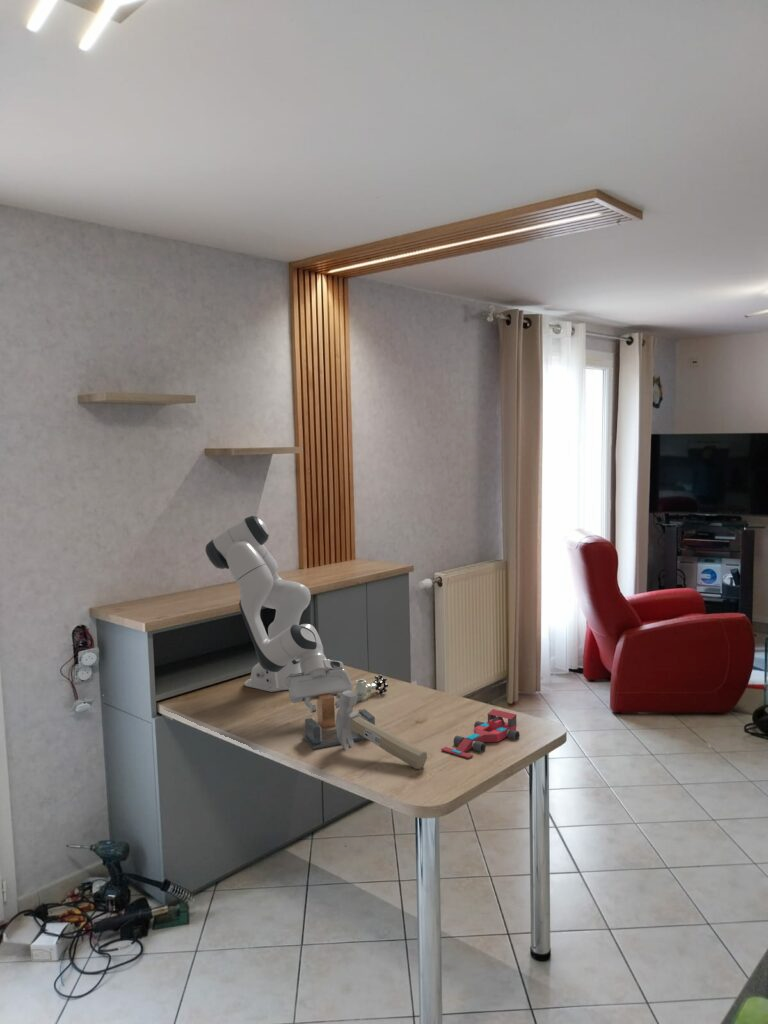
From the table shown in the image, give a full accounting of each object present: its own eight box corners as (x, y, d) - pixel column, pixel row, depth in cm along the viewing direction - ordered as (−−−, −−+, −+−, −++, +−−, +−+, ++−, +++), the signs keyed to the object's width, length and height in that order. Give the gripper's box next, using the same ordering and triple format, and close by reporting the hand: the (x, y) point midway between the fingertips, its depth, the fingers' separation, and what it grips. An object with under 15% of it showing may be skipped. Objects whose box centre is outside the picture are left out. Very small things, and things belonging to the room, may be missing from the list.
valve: (363, 703, 259) (388, 694, 267) (362, 684, 258) (388, 676, 267) (350, 699, 263) (375, 691, 272) (349, 680, 263) (375, 672, 271)
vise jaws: (303, 738, 228) (302, 718, 227) (365, 726, 235) (365, 707, 235) (313, 749, 219) (312, 729, 218) (378, 737, 226) (377, 717, 226)
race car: (433, 729, 216) (484, 706, 234) (434, 750, 216) (485, 726, 234) (474, 741, 206) (524, 716, 224) (475, 763, 207) (525, 736, 225)
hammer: (431, 732, 202) (349, 688, 221) (421, 737, 199) (338, 692, 217) (422, 785, 206) (342, 737, 224) (412, 791, 202) (331, 742, 221)
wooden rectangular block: (317, 722, 241) (316, 694, 240) (329, 720, 242) (328, 693, 241) (322, 727, 236) (321, 699, 235) (335, 725, 237) (334, 697, 237)
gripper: (285, 670, 240) (296, 709, 232) (347, 661, 248) (359, 699, 240) (282, 680, 245) (292, 719, 236) (342, 671, 252) (354, 709, 244)
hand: (326, 709), depth 238 cm, fingers open, 7 cm apart
